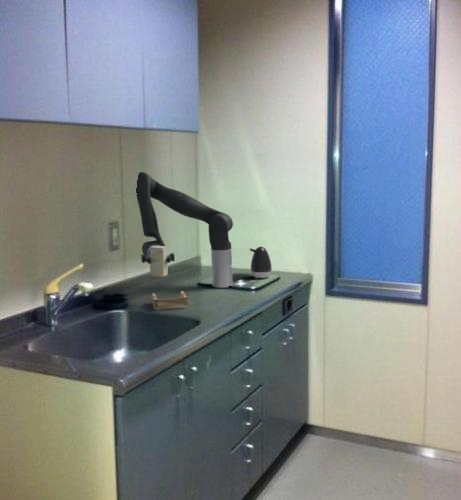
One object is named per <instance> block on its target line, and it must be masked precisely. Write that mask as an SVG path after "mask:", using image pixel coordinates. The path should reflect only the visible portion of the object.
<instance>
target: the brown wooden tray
mask: <svg viewBox="0 0 461 500" xmlns="http://www.w3.org/2000/svg"><path fill="white" fill-rule="evenodd" d="M179 292H180V297H172V298H171V297H170V298H158V297H157V295H156V293H155V292H152V293H151V295H152V296H151V297H152V300H151V301H152V304H153V305H152V306H153V307H154V311H160V310H172V309H185V308H187V309H188V307H189V306H188V296H187V295H186V293H185V292H184V290H180V291H179Z"/></svg>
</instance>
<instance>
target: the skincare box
mask: <svg viewBox="0 0 461 500" xmlns="http://www.w3.org/2000/svg"><path fill="white" fill-rule="evenodd" d="M167 255H168V246H166V245H165V246H152V247H150V264H149V270H150V271H149V272H150V273H149V274H150V275H149V276H150V277H159V278H160V277H161V278H163V277H166V276H168V272H169V270H168V265H169V264H168V262H167Z"/></svg>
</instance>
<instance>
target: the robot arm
mask: <svg viewBox="0 0 461 500" xmlns="http://www.w3.org/2000/svg"><path fill="white" fill-rule="evenodd" d="M139 172H140V173H139ZM139 172H138V173H139V175H138V180H137V188H136V193H137V195H136V194H135V196H137V197H136V201H137V204H138V208H139V213H140V219H141V226H142V231H143V236H145V237H146V238H153V239H155V240H150V241H145V242H144V243H143V244H142V247H141V250H142V254H140V258H141V261H140V262H141V263H143V264H145V263H146V264H148V265H150V247H152V246H166V244H165V242H164V240H163V238H162V236H161V234H160V230H159V225H158V220H157V219H158V218H157V215H156V212H155V209H154V207H153V206H154V205H153V203H152V199H154V200H157V201H158V202H160V203H162V204H163V205H164V206H166V207H167V208H169V209H171V210H172V211H174V212H176V213H178V214H180V215H182V216H184V217H187V218H191V219H194V220H197V221H201V222H203V223H205V224H208V240H209V245H210V251H211V252H210V255H211V256H210V257H211V281H212V282H211V284H212V285H211V286H212V287H213V288H219V289H220V288H222V289H223V288H230V287H229V286H233V283H234V282H233V265H232V264H233V263H232V262H233V261H232V258H233V257H232V242H231V241H230V238H229V231H231V230H232V228H233V225H234V221H233V219H232V217H231V216H230V215H229V214H227V213H225V212H224V211H223V212H222V211H219V210H217V209H214V208H212V207H209V206H207V205H206V204H204V203H202V202H201V201H200V200H197V199H195V197H194V198H193V197H192V196H190V195H188V194H186V193H185V192H182V191H179V190H177V189H173V188H169V187H167V186H164V185H163V184H162V183H160V182H158V181H156V179H154V178H153V177H151V176H150V175H149V174H148V173H146V172H143V171H139ZM171 262H175V253H174V252H171V253H169V254H167V264H170V263H171ZM233 287H234V286H233Z"/></svg>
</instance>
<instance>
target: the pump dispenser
mask: <svg viewBox="0 0 461 500" xmlns="http://www.w3.org/2000/svg"><path fill="white" fill-rule="evenodd" d="M249 251H251V252H252V253H253V255H252V258H251V261H250V272H251V274H252V276H253V277H254V278H256V279H258V278H263V279H267V278H269V276H270V275H271V272H272V270H273V268H272V261H271V258H270V255H269V253H268V251H267V249H266V248H265V247H263V246H258V247H256V248H255V249H253V248H249Z"/></svg>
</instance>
